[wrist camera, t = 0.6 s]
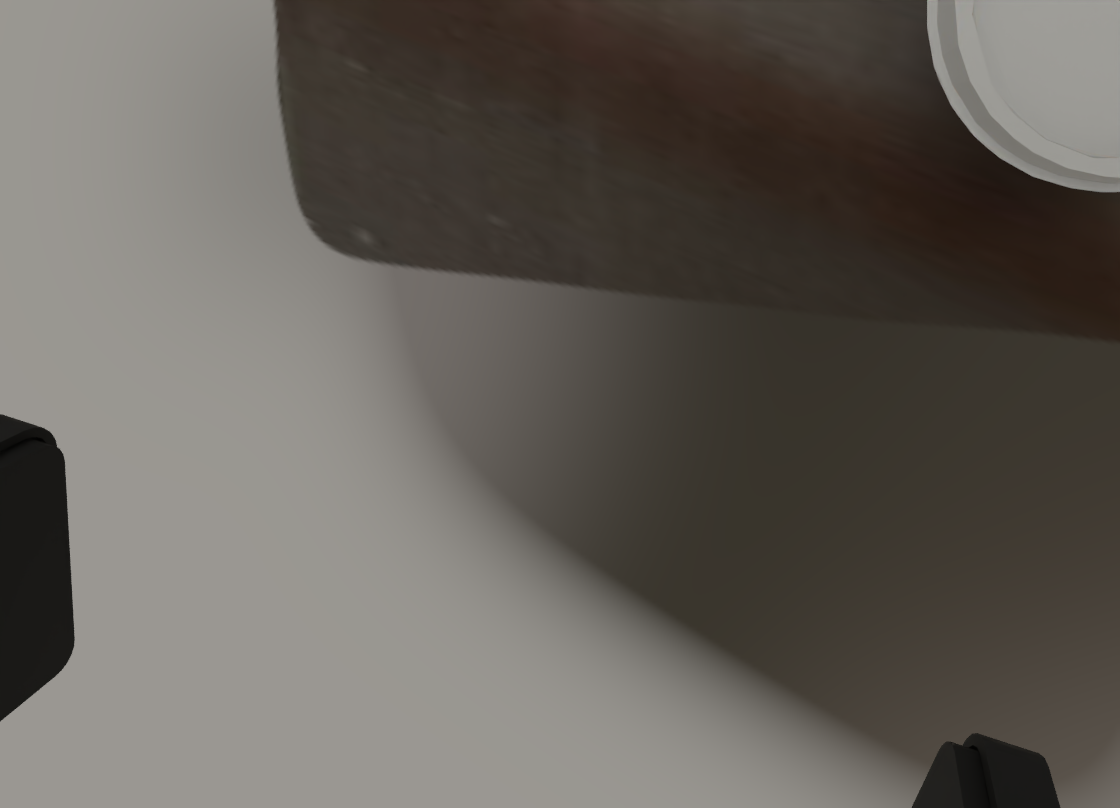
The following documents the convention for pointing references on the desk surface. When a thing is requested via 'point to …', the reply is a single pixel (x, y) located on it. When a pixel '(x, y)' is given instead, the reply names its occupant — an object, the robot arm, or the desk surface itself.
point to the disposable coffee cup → (1036, 83)
